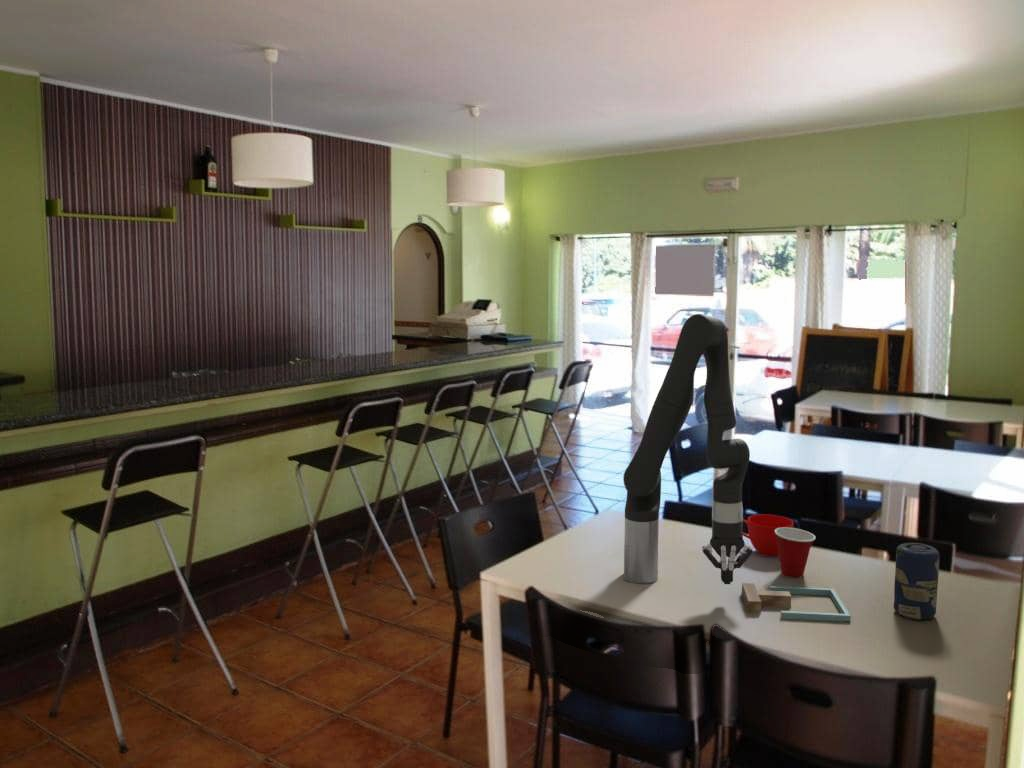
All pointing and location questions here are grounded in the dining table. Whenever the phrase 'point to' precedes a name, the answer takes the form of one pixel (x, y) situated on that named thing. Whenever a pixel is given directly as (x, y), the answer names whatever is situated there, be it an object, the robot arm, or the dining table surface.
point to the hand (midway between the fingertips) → (726, 583)
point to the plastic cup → (793, 550)
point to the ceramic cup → (765, 532)
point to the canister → (916, 580)
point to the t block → (763, 598)
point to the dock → (814, 615)
